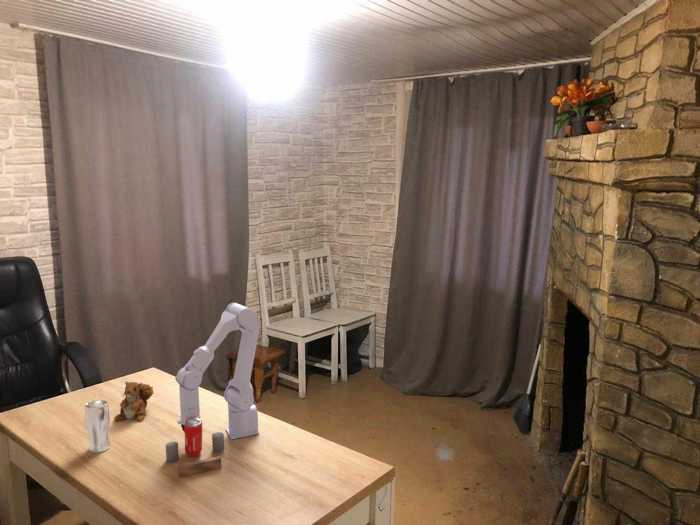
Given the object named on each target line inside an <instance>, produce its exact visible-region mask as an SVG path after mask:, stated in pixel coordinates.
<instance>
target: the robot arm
mask: <svg viewBox="0 0 700 525" xmlns="http://www.w3.org/2000/svg"><path fill="white" fill-rule="evenodd" d="M258 316H259V315H258V313H257V312H255V310H254V309H253V308H251V307H247V306H246V305H245V306H244V305H242V304H239V303H238V302H231V303H229V304H228V305H227V306H226V308H225V310H223V312H222V313H221V317H220V320H219V322H218V323H217V325H216V327H215V328H214V330H213V332H212V333H211V335H210V336H209V338H208V340H206V343H205V344H204V345H202V346H199V347H198V348H197V349H195V350H194V351H193V355H192V356H191V358H190V359H189V360H188V362H187V363H186V364H185V365H184V367H182V368H181V369H179V370H178V372H177V374H176V376H175V381H176V382H177V384H178V386H179V403H180V404H179V405H180V418H177V420H176V423H177V424H178V425H179V424H180V427H181V429H182V431H183V433H184V434H185V422H186V420H187V419H188V418H190V417H198V418H200V419H201V415H200V412H201V411H200V392H199V387H200V386H201V384H202V380H203V375H204V373H205V371H206V370H207V368H208V367H209V365H210V364H211V362H212V361H213V359H214V358H215V350H216V349H217V348H218V347H219V346H220V345H221V343H222V342H223V341H224V339H225V338H226V337H227V336H228V334H229V333H231V332H234V331H239V330H240V331H241V334H240V335H241V336H240V341H239V342H240V343H239V347H238V353H237V358H236V361H235V362H236V363H235V369H234V374H233V378H231V380H229V381H228V383H227V384H228V385H227V387H226V389H225V390H224V393H223V398H224V400H225V402H227V411H228V427H226V428H225V430H226V433H227V435H228V436H229V438H230V440H236V439H240V438H245V437H250V436H253V435H258V434H260V432H259V417H258V416H259V415H258V408H257V406H256V404H254V403H255V402H254V400H255V399H254V394H253V393H254V388H253V387H254V386H253V385H252V383H251V376H252V371H253V366H254V359H255V355H256V350H257V345H258V344H257V343H258V338H259V336H260V335H259V333H260V325H259V321H258ZM201 420H202V419H201Z"/></svg>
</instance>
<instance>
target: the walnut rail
mask: <svg viewBox="0 0 700 525" xmlns="http://www.w3.org/2000/svg"><path fill="white" fill-rule="evenodd" d="M177 468H178V476H179V477H180V478H182V477H185V476H190V475H191V476H192V475H195V474H199V473H204V472H208V471H212V470H217V469H220V468H222V458H221V456H220V455H218V456H217V455H216V456H214V457H213V456H212V457H209V458H203V459H200V460H197V461H191V462H187V463H182V464H178V467H177Z"/></svg>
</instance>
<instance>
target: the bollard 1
mask: <svg viewBox="0 0 700 525" xmlns="http://www.w3.org/2000/svg"><path fill="white" fill-rule="evenodd" d="M165 456H166V457H165V458H166V460H165V461H166V462H167V463H170V464H172V463H176V462H178V461H179V459H180V455H179V443H178V442H177V441H169V442H167V443H166V444H165Z"/></svg>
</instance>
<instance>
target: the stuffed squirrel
mask: <svg viewBox="0 0 700 525" xmlns="http://www.w3.org/2000/svg"><path fill="white" fill-rule="evenodd" d="M124 383H125V387H124V392H123V393H122V394H121V397H122V398H123V400H121V402H120V404H119V406H120V410H119V414H116V415H115V416H114V418H113V420H114V421H116V422H118V421H122V420H124V419H129V420H132V419H134V420H135V421H138V422H143V421H144V419H145V418H146V416H147V409H146V408H147V407H148V400H150V399H151V397H152V396H153V395H154V387H153V386H150V384H146V383H144V382H140V383H138V382H137V381H136V382H135V381H129V382H128V381H125V382H124Z"/></svg>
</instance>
